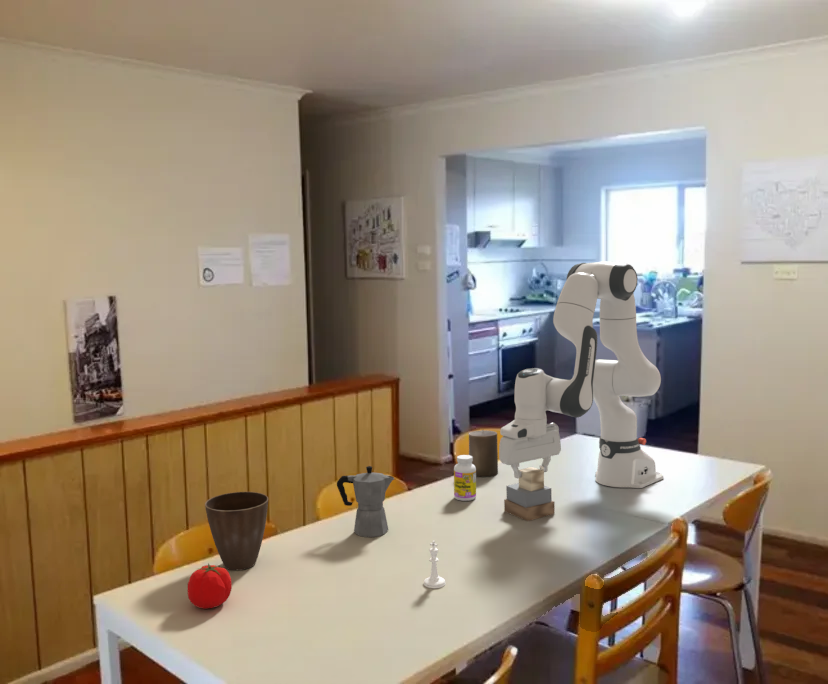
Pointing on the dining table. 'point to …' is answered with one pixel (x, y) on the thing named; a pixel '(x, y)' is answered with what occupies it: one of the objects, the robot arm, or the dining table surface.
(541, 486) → the birch block
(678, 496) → the dining table surface
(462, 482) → the supplement bottle
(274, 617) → the dining table surface
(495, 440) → the pillar candle
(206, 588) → the tomato
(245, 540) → the plant pot
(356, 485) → the coffeepot
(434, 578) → the chess piece
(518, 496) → the tower top
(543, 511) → the tower base
